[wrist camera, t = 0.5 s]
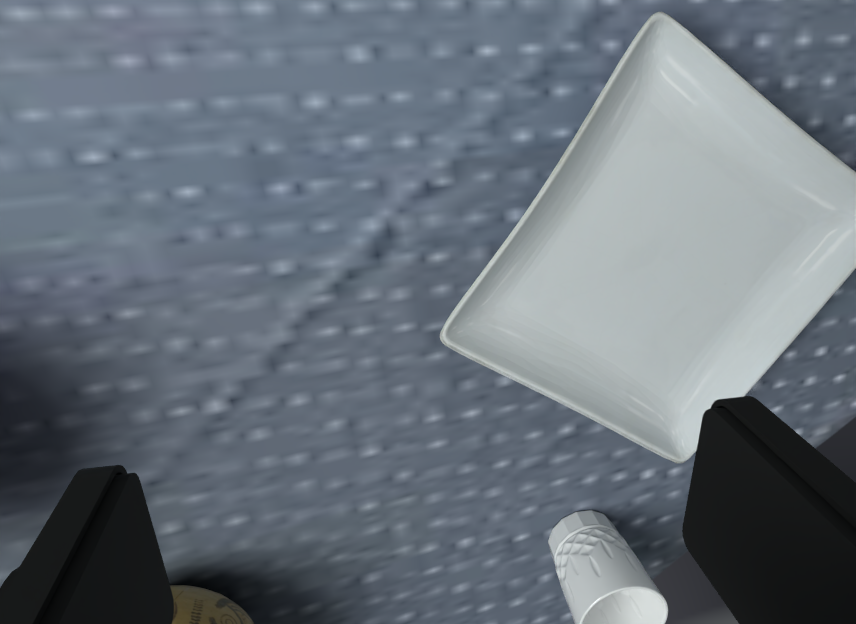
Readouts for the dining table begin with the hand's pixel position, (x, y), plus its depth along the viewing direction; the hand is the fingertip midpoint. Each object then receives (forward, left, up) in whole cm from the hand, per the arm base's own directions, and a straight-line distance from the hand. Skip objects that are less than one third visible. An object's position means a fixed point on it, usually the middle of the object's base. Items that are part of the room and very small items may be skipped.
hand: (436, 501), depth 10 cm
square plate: (+19, +16, -37) cm, 45 cm away
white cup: (+42, -1, -36) cm, 56 cm away
